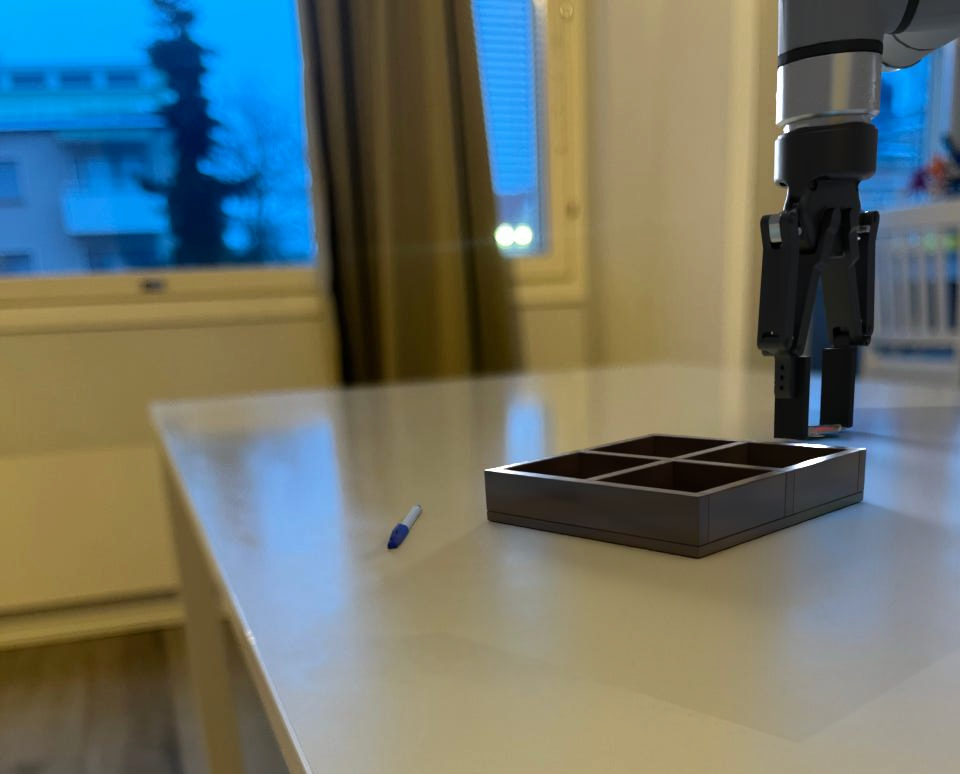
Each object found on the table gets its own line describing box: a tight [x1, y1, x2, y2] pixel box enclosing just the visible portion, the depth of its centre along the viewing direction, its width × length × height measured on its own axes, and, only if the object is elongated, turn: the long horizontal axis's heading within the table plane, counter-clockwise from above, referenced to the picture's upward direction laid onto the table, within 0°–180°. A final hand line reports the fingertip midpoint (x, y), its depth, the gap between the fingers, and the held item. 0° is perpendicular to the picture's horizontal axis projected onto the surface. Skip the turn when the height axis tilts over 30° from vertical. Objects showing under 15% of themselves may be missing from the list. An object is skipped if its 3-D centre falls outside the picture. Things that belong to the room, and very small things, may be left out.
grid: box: [483, 432, 867, 559], centre depth 60 cm, size 16×16×3 cm
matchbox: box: [808, 424, 847, 438], centre depth 83 cm, size 5×5×1 cm
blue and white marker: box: [386, 504, 422, 550], centre depth 61 cm, size 10×1×1 cm, turn 177°
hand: (813, 431), depth 83 cm, fingers open, 6 cm apart
